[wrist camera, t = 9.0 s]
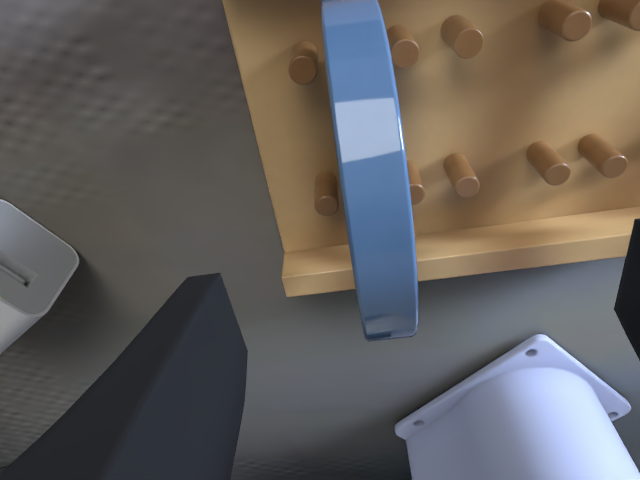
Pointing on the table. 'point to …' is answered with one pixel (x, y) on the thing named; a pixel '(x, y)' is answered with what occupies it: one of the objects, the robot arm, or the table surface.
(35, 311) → the usb wall charger
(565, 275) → the table surface
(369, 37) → the plate
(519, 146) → the rack
